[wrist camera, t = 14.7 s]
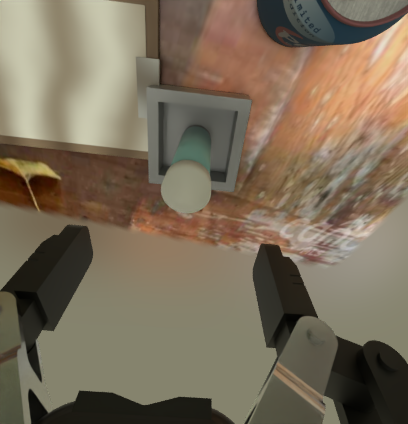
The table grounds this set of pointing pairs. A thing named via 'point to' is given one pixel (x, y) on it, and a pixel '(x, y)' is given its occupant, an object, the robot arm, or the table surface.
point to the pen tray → (196, 115)
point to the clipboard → (78, 74)
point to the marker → (189, 172)
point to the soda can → (328, 20)
